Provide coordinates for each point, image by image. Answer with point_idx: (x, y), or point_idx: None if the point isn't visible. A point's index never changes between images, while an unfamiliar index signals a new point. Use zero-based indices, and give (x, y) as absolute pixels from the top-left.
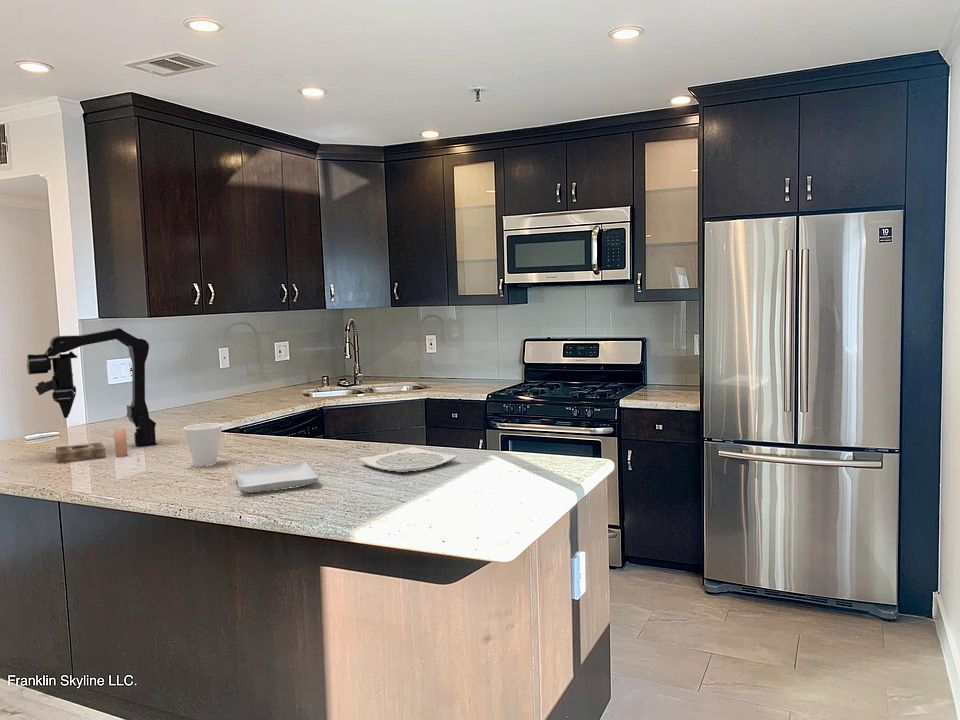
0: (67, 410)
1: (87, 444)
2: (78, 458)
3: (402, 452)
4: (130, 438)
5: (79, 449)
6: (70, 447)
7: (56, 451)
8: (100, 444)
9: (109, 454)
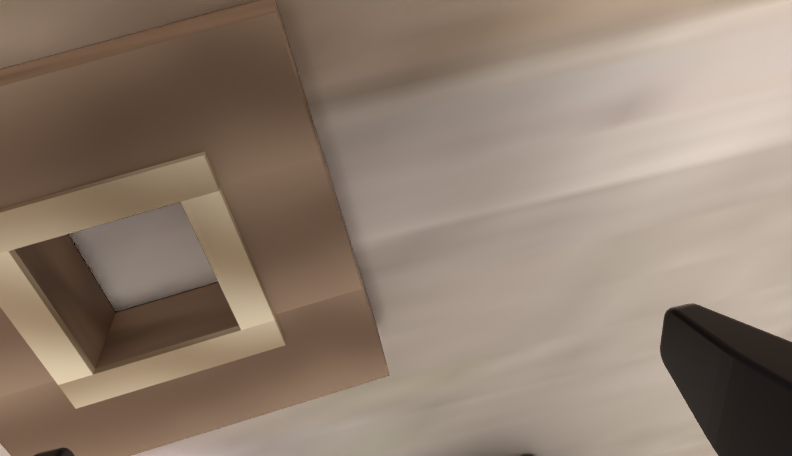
0: None
1: (273, 317)
2: None
3: None
4: None
5: (11, 314)
6: (139, 205)
7: (175, 33)
8: (272, 399)
9: None
